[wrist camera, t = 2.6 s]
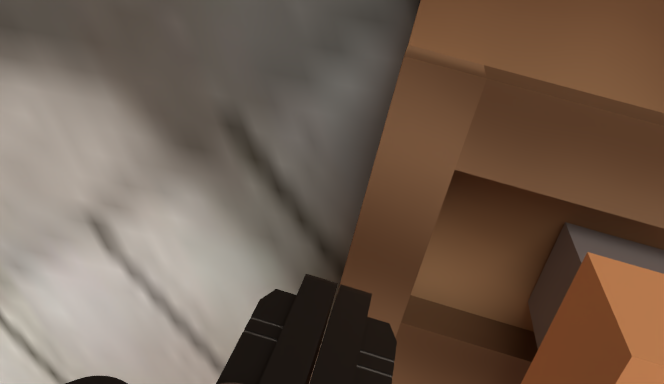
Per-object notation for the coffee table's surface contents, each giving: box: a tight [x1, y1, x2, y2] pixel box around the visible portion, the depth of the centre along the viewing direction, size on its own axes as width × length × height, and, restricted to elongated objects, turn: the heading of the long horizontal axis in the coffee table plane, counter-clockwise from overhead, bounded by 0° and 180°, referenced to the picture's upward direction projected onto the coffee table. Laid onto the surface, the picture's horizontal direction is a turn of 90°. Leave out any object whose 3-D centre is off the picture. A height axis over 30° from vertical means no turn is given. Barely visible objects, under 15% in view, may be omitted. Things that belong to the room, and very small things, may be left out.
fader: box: [521, 222, 664, 384], centre depth 13 cm, size 5×4×7 cm
